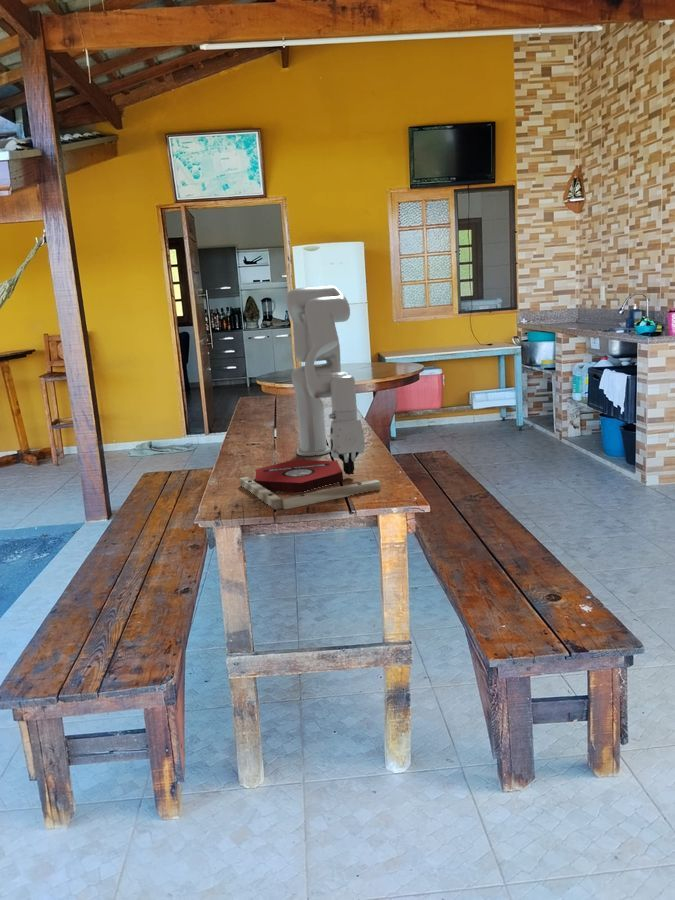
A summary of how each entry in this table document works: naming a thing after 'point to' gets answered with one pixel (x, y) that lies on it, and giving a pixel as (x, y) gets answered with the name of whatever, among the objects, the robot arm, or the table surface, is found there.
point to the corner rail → (309, 497)
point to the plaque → (299, 475)
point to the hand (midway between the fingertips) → (349, 473)
